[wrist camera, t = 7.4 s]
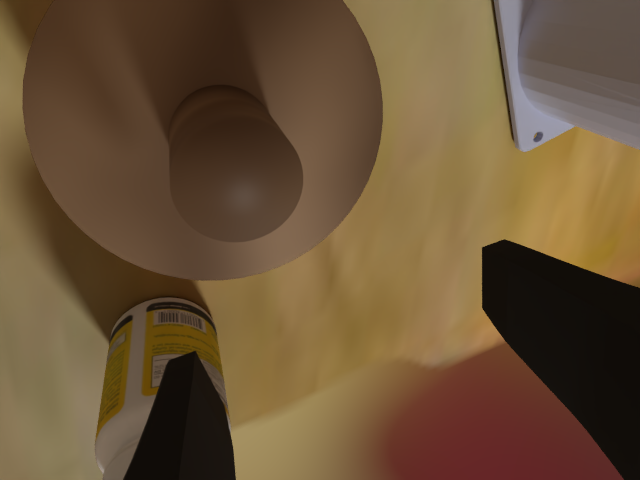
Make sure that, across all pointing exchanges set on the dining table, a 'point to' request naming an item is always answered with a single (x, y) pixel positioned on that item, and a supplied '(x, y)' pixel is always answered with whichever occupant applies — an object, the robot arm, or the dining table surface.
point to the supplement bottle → (148, 372)
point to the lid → (203, 127)
